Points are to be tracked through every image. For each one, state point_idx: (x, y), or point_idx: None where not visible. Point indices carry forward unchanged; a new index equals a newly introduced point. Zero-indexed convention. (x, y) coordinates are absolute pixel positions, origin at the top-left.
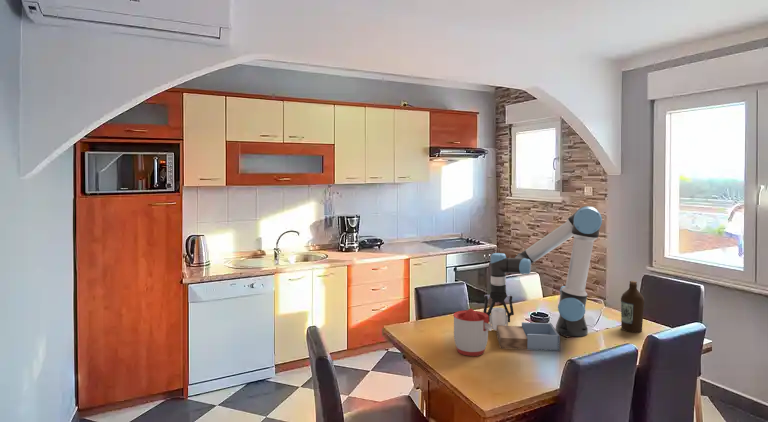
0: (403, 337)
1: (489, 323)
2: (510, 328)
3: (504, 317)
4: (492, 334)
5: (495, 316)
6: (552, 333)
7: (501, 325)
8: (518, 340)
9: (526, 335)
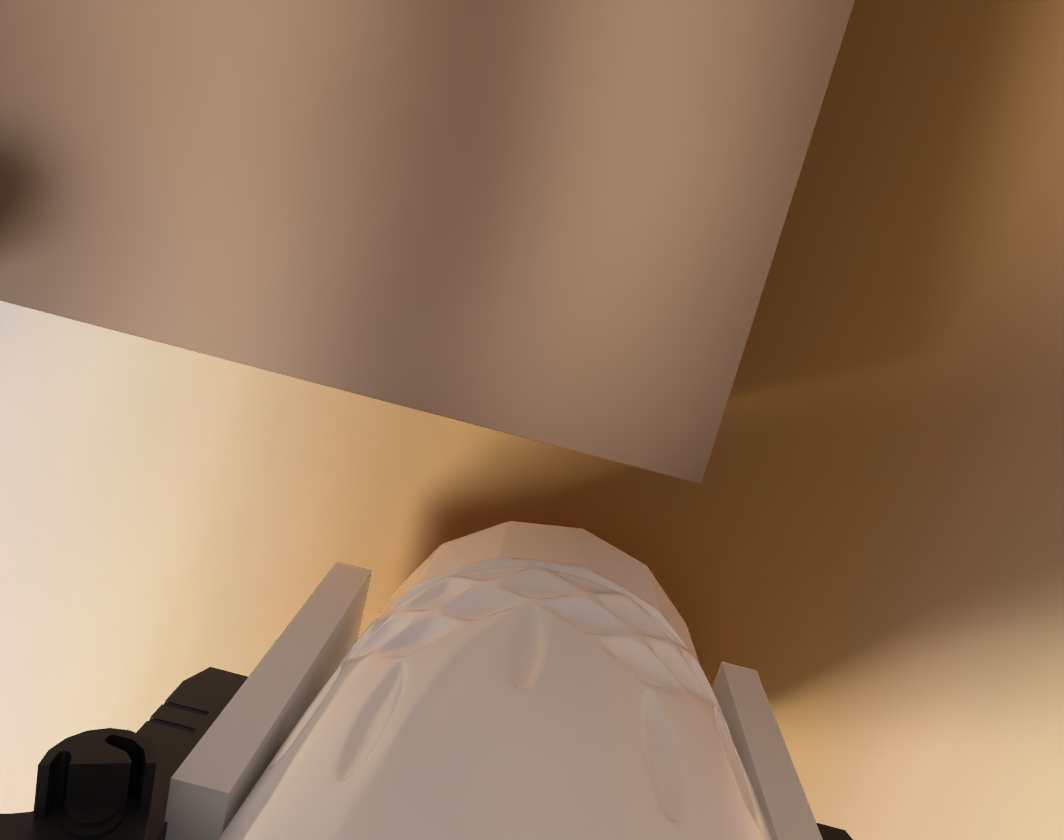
0: None
1: None
2: (357, 95)
3: (330, 722)
4: (745, 473)
5: (715, 807)
6: None
7: (500, 575)
8: None
9: None
